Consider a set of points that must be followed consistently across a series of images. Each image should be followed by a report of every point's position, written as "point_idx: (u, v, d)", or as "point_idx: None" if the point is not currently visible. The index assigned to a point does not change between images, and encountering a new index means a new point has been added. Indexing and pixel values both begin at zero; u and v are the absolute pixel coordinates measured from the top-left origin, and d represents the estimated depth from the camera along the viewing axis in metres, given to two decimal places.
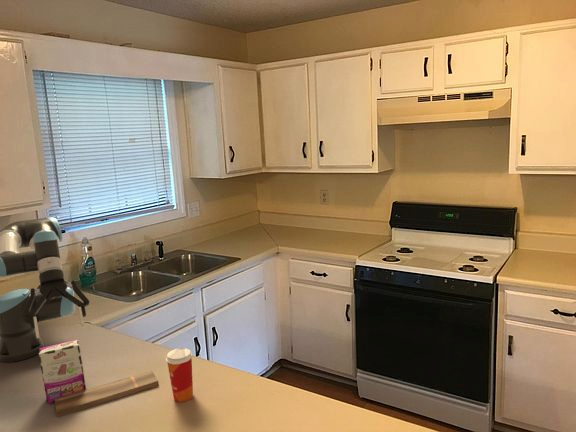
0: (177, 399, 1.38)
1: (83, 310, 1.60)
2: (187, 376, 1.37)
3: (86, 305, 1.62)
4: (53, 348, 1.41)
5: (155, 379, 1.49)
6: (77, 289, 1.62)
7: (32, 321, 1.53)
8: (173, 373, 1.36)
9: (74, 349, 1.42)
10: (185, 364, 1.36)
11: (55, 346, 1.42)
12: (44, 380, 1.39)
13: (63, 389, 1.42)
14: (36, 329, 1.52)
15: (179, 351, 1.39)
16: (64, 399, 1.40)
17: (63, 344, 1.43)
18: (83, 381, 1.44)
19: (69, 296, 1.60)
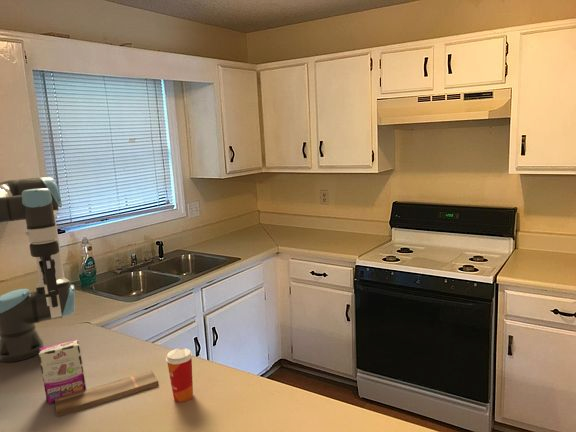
0: (177, 399, 1.38)
1: (51, 301, 1.33)
2: (187, 376, 1.37)
3: (54, 295, 1.32)
4: (53, 348, 1.41)
5: (155, 379, 1.49)
6: (45, 274, 1.32)
7: None
8: (173, 373, 1.36)
9: (74, 349, 1.42)
10: (185, 364, 1.36)
11: (55, 346, 1.42)
12: (44, 380, 1.39)
13: (63, 389, 1.42)
14: (46, 298, 1.46)
15: (179, 351, 1.39)
16: (64, 399, 1.40)
17: (63, 344, 1.43)
18: (83, 381, 1.44)
19: (45, 279, 1.35)
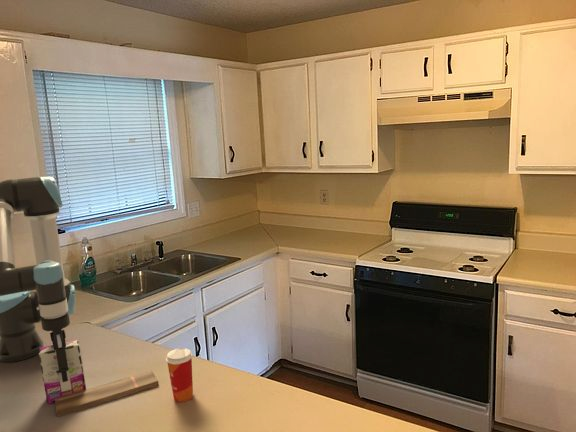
0: (177, 399, 1.38)
1: (61, 376, 1.40)
2: (187, 376, 1.37)
3: (64, 371, 1.39)
4: (53, 348, 1.41)
5: (155, 379, 1.49)
6: (56, 353, 1.37)
7: None
8: (173, 373, 1.36)
9: (74, 349, 1.42)
10: (185, 364, 1.36)
11: None
12: (44, 380, 1.39)
13: None
14: None
15: (179, 351, 1.39)
16: (64, 399, 1.40)
17: None
18: (83, 380, 1.44)
19: (56, 353, 1.40)
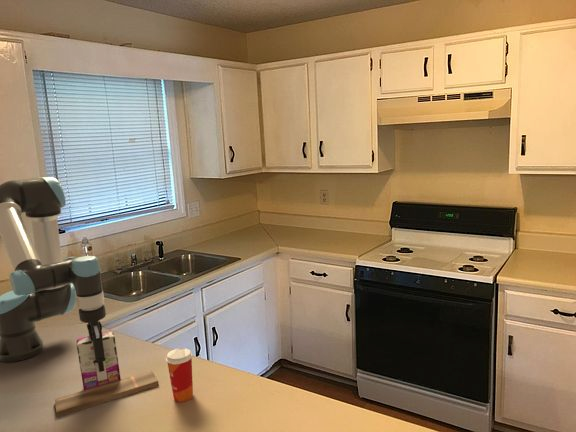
0: (177, 399, 1.38)
1: (98, 366, 1.45)
2: (187, 376, 1.37)
3: (101, 361, 1.44)
4: (89, 339, 1.46)
5: (155, 379, 1.49)
6: (94, 343, 1.41)
7: None
8: (173, 373, 1.36)
9: (109, 340, 1.47)
10: (185, 364, 1.36)
11: None
12: (81, 370, 1.44)
13: None
14: None
15: (179, 351, 1.39)
16: (64, 399, 1.40)
17: None
18: (118, 371, 1.49)
19: (93, 344, 1.45)
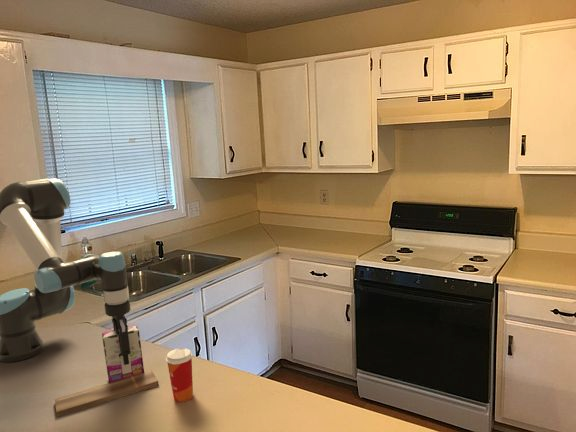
0: (177, 399, 1.38)
1: (123, 359, 1.48)
2: (187, 376, 1.37)
3: (126, 354, 1.47)
4: (115, 332, 1.49)
5: (155, 379, 1.49)
6: (120, 337, 1.45)
7: None
8: (173, 373, 1.36)
9: (134, 334, 1.50)
10: (185, 364, 1.36)
11: None
12: (107, 363, 1.48)
13: None
14: None
15: (179, 351, 1.39)
16: (64, 399, 1.40)
17: None
18: (142, 364, 1.53)
19: (118, 337, 1.48)
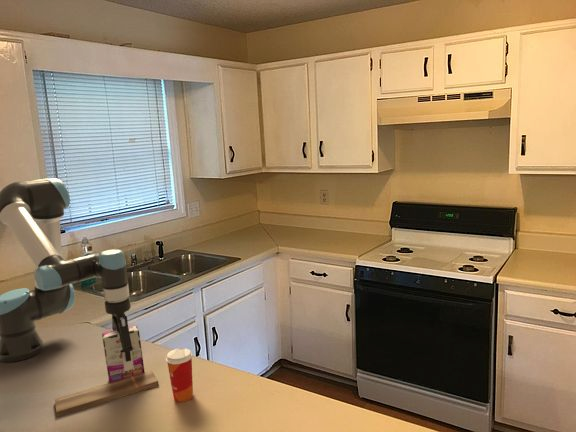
0: (177, 399, 1.38)
1: (125, 355, 1.45)
2: (187, 376, 1.37)
3: (128, 351, 1.44)
4: (115, 332, 1.50)
5: (155, 379, 1.49)
6: (120, 332, 1.44)
7: None
8: (173, 373, 1.36)
9: (134, 334, 1.50)
10: (185, 364, 1.36)
11: (116, 331, 1.51)
12: (107, 363, 1.48)
13: (124, 372, 1.50)
14: None
15: (179, 351, 1.39)
16: (64, 399, 1.40)
17: None
18: (142, 364, 1.53)
19: (119, 334, 1.46)
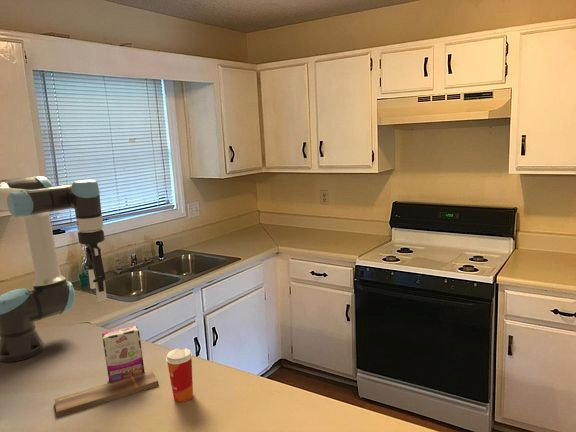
0: (177, 399, 1.38)
1: (98, 285, 1.43)
2: (187, 376, 1.37)
3: (101, 280, 1.42)
4: (115, 332, 1.49)
5: (155, 379, 1.49)
6: (93, 261, 1.42)
7: None
8: (173, 373, 1.36)
9: (134, 334, 1.50)
10: (185, 364, 1.36)
11: (116, 331, 1.51)
12: (107, 363, 1.48)
13: (124, 372, 1.50)
14: None
15: (179, 351, 1.39)
16: (64, 399, 1.40)
17: (123, 329, 1.52)
18: (142, 364, 1.53)
19: (92, 265, 1.45)
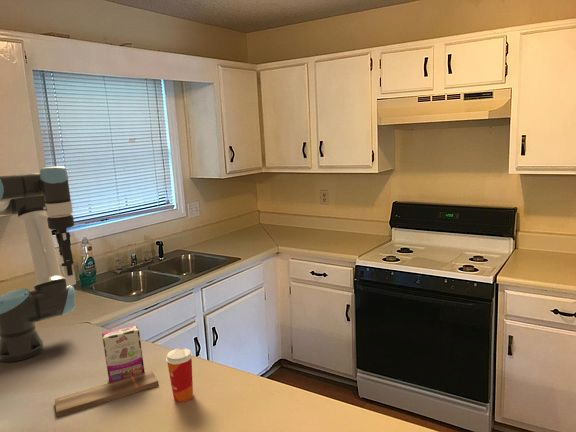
0: (177, 399, 1.38)
1: (66, 269, 1.45)
2: (187, 376, 1.37)
3: (69, 264, 1.44)
4: (115, 332, 1.50)
5: (155, 379, 1.49)
6: (61, 245, 1.44)
7: (62, 259, 1.58)
8: (173, 373, 1.36)
9: (134, 334, 1.50)
10: (185, 364, 1.36)
11: (116, 331, 1.51)
12: (107, 363, 1.48)
13: (124, 372, 1.50)
14: (62, 268, 1.58)
15: (179, 351, 1.39)
16: (64, 399, 1.40)
17: (124, 329, 1.52)
18: (142, 364, 1.53)
19: (61, 249, 1.47)
